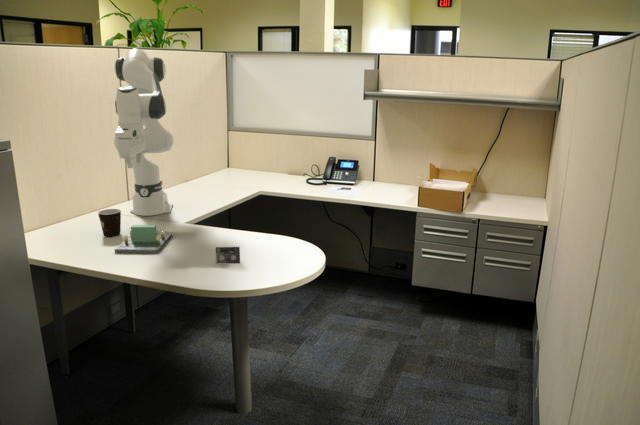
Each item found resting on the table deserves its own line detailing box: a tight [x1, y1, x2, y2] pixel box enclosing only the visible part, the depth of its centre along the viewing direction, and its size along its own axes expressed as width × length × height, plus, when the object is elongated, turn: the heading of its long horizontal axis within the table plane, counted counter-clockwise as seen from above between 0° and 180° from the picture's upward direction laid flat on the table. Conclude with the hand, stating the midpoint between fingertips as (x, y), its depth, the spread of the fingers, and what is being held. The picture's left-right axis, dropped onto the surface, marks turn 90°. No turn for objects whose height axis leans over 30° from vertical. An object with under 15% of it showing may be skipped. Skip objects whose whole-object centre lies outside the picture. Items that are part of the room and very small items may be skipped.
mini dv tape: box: [215, 246, 241, 265], centre depth 187 cm, size 8×2×6 cm, turn 92°
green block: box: [130, 224, 158, 242], centre depth 206 cm, size 3×9×6 cm, turn 89°
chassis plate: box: [114, 230, 174, 254], centre depth 206 cm, size 20×16×4 cm
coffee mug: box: [97, 208, 122, 238], centre depth 216 cm, size 12×9×10 cm
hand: (134, 165), depth 208 cm, fingers open, 8 cm apart
